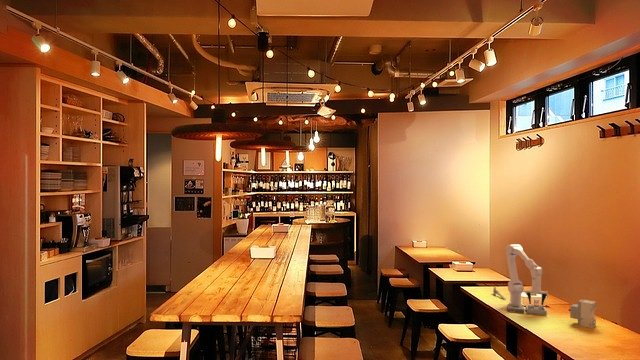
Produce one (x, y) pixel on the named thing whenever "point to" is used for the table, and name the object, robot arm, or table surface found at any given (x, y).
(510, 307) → the fuse holder
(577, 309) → the circuit breaker
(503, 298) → the caliper
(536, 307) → the fuse
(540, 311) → the parts tray
